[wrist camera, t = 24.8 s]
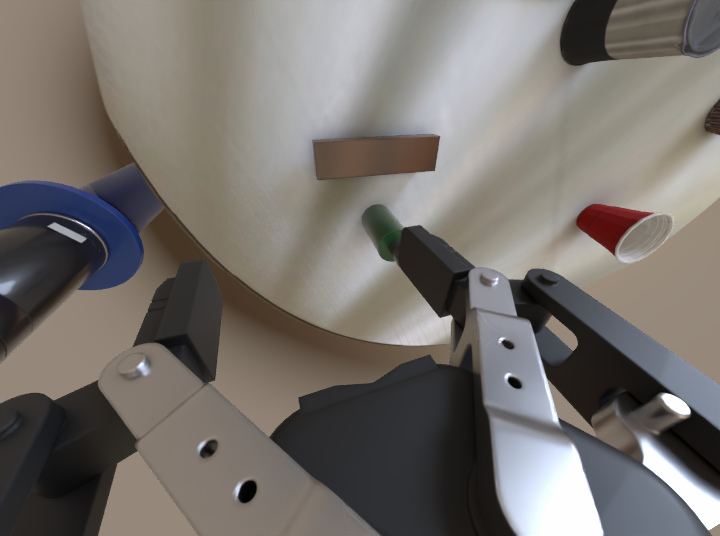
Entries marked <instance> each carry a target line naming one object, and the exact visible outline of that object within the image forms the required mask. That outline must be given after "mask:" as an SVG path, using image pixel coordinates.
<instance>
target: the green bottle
mask: <svg viewBox="0 0 720 536" xmlns="http://www.w3.org/2000/svg"><path fill="white" fill-rule="evenodd" d="M362 224H363V226H364V228H365V230H366V232H367V233H368V235H369V237H370V239H371V241H372V242H373V244H374V246H375V248H376V249H377V251H378V253H379V255H380V256H381V258H383V259H384V260H386V261H396V263H397V265H398V266H399V262H398V253H399V246H400V239H401V232H402V229H403V228H404V227H403V226H402V224H401V223H400V222H399V221H398V220H397V219H396V217H395V216H394V215H393V214H392V213H391V212H390V210H389V209H388V208H387V207H385V206H383V205H373V206H371V207H369V208H368V209H367V210H366V211H365V213H364V215H363V217H362ZM399 267H400V266H399Z"/></svg>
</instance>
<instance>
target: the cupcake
mask: <svg viewBox="0 0 720 536" xmlns="http://www.w3.org/2000/svg"><path fill="white" fill-rule="evenodd" d="M705 129H706V131H708V132H711V133H714V134H718V135H720V100H719V101H718V102H717V103H716V105H715V106H714V108H713V109H712V110H711V112H710V113H709V115H708V117H707V119H706V123H705Z"/></svg>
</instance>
